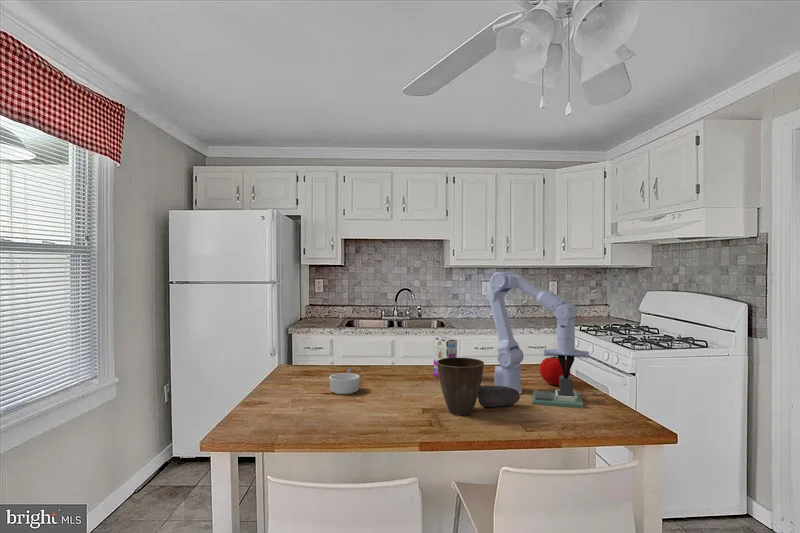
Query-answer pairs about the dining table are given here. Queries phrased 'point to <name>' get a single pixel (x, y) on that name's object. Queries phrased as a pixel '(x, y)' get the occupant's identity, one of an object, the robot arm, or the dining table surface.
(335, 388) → the saucepan
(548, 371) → the tomato
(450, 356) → the candy bar box
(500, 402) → the perforated stone tool
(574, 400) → the board
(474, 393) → the plant pot
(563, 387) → the plug
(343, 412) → the dining table surface
